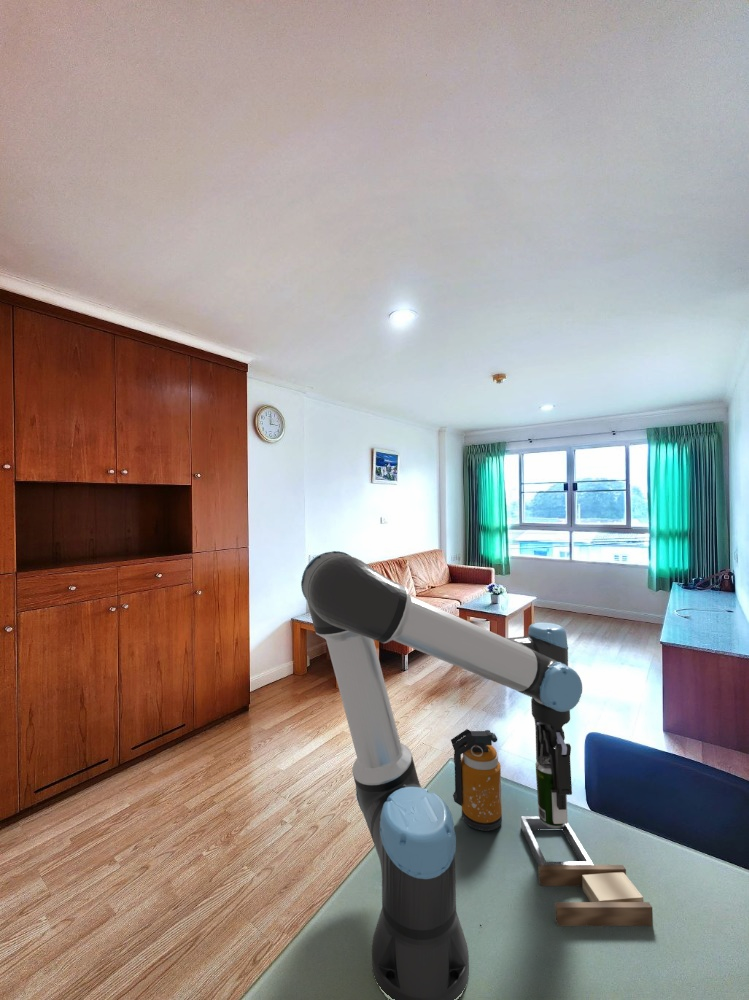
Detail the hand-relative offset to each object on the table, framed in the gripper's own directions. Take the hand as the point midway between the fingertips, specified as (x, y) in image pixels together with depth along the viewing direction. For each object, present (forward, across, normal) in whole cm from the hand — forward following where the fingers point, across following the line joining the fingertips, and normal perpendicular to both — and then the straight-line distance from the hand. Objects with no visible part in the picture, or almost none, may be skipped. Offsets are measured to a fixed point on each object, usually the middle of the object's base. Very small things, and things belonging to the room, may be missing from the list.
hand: (554, 812), depth 91 cm
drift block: (+8, -12, -6) cm, 15 cm away
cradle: (+8, 0, 0) cm, 8 cm away
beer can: (+2, 0, 0) cm, 2 cm away
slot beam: (+8, -12, -2) cm, 15 cm away
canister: (+8, +9, +14) cm, 19 cm away
